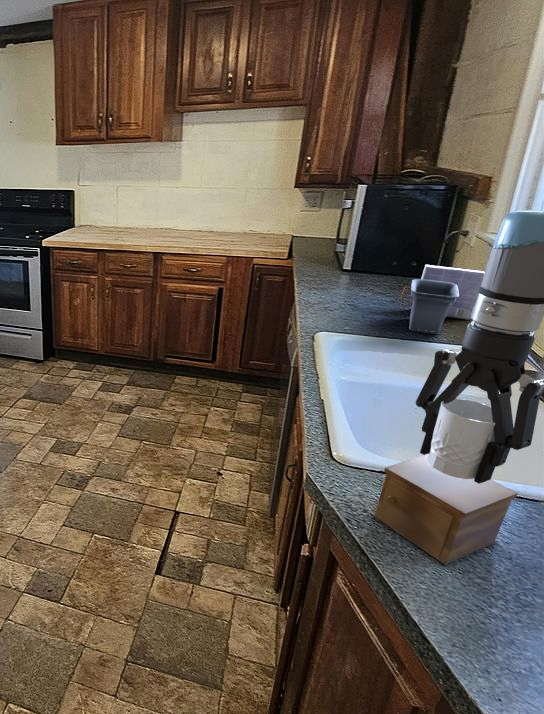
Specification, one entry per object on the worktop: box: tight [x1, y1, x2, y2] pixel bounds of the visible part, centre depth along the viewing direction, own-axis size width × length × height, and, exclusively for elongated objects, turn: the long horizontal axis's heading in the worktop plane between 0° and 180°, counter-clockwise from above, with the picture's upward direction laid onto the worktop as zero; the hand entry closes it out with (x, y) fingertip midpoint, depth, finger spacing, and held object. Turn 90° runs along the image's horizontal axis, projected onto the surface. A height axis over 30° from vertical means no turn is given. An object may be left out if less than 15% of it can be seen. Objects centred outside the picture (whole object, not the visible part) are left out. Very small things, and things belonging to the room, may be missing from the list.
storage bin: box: [400, 278, 459, 335], centre depth 182 cm, size 21×16×14 cm
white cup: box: [428, 397, 496, 479], centre depth 80 cm, size 8×8×10 cm
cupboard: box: [373, 454, 519, 566], centre depth 85 cm, size 13×14×10 cm
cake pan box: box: [420, 264, 485, 321], centre depth 194 cm, size 19×5×18 cm, turn 60°
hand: (453, 465), depth 82 cm, fingers closed on white cup, 8 cm apart
